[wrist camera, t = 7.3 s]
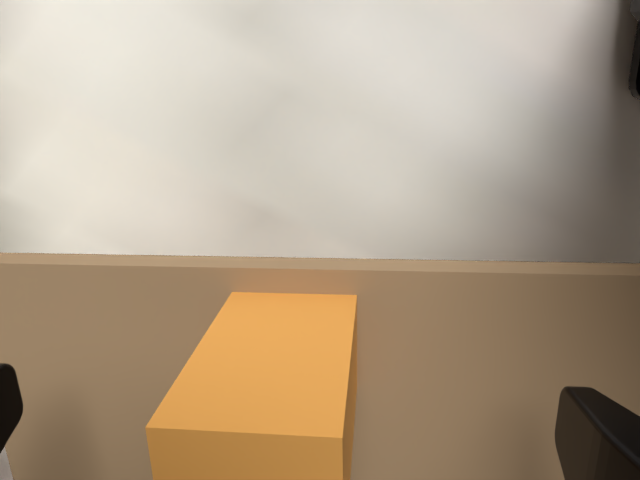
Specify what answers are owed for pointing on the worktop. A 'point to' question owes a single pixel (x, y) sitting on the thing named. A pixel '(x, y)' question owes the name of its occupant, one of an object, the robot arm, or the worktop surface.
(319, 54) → the worktop surface
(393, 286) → the lid
